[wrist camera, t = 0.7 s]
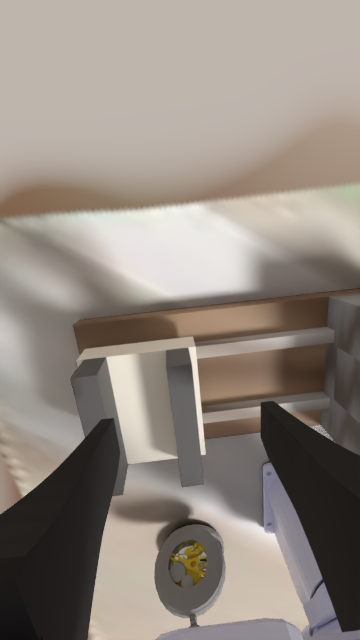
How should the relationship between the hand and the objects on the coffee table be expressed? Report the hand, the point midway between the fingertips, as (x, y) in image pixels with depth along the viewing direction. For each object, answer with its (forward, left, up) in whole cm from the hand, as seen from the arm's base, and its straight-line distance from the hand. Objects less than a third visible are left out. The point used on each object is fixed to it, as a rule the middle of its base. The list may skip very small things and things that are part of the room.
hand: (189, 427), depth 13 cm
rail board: (-3, -5, -10) cm, 12 cm away
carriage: (-3, +3, -7) cm, 8 cm away
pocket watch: (-23, +1, -10) cm, 25 cm away
